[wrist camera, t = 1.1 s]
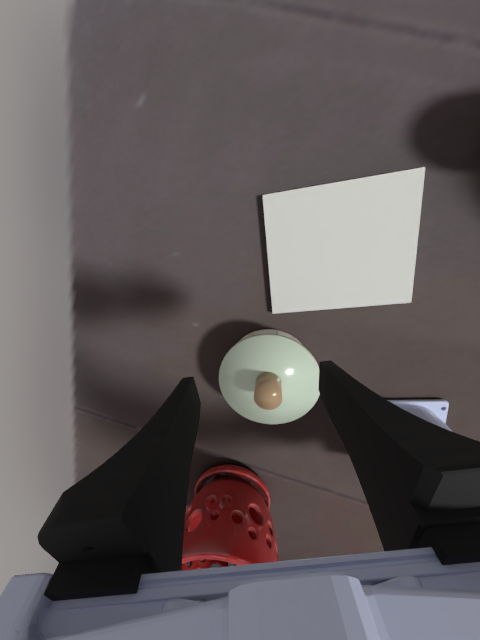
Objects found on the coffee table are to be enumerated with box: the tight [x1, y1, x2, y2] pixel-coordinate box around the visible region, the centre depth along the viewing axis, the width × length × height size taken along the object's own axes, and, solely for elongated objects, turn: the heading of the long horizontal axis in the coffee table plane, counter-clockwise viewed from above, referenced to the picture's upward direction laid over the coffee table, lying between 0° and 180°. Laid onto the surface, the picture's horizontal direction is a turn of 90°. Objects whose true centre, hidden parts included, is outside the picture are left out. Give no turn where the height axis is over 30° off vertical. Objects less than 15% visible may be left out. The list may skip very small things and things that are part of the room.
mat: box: [262, 167, 425, 314], centre depth 22 cm, size 12×14×1 cm
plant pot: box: [182, 465, 279, 571], centre depth 30 cm, size 13×13×12 cm
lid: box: [219, 334, 320, 424], centre depth 24 cm, size 11×11×3 cm
